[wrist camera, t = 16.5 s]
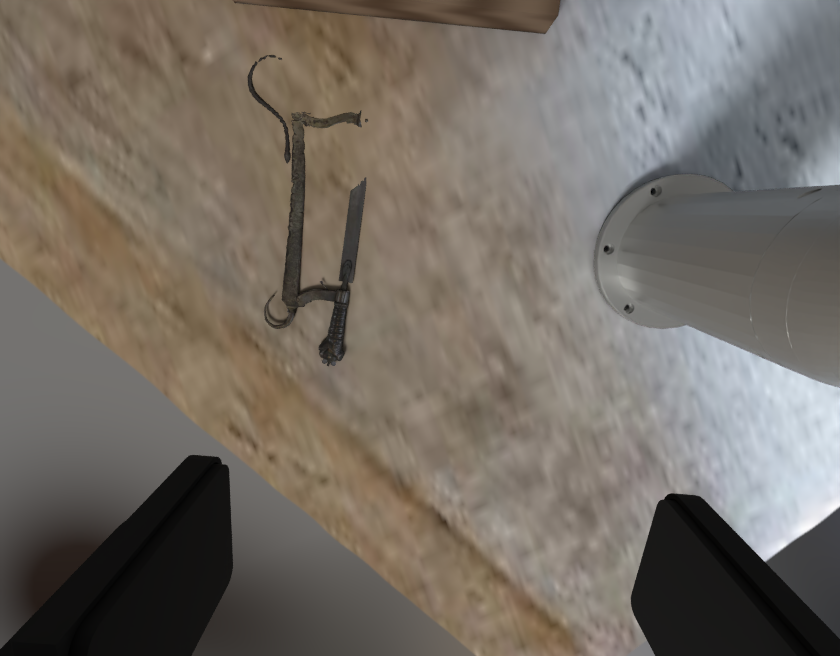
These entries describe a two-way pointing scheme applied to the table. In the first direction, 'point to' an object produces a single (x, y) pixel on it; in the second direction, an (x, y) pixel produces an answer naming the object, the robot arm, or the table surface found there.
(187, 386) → the table surface
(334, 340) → the hacksaw
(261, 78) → the table surface
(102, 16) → the table surface
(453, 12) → the open wooden box
